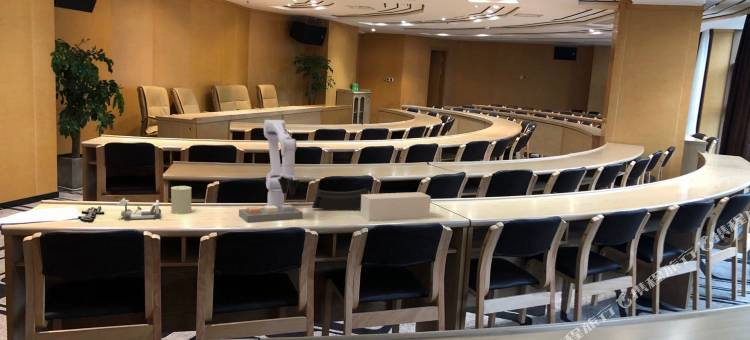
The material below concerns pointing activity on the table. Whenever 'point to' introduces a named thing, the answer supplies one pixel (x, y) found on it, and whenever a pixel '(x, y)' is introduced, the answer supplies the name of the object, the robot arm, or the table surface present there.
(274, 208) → the key cream
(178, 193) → the can
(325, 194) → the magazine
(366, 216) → the beige rectangular block
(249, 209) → the key terracotta
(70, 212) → the table surface
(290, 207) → the key slate
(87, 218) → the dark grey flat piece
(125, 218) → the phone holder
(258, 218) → the keypad
